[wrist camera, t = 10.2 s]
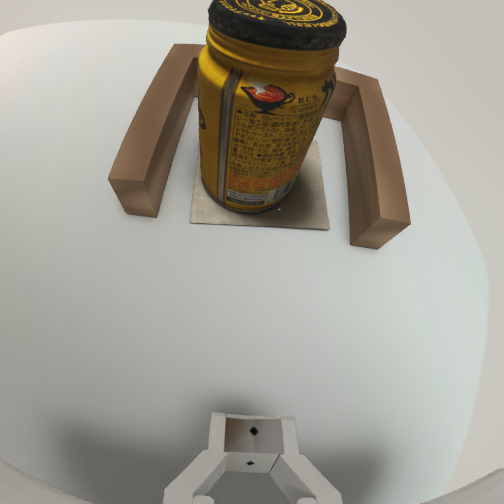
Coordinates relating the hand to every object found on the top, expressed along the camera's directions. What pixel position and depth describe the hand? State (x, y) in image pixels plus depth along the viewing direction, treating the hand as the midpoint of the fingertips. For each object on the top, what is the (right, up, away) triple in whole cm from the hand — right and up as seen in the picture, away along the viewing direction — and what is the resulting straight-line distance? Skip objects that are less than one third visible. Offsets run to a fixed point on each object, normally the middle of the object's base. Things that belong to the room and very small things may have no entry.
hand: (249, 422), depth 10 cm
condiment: (+1, +11, +10) cm, 15 cm away
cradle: (+1, +14, +10) cm, 17 cm away
